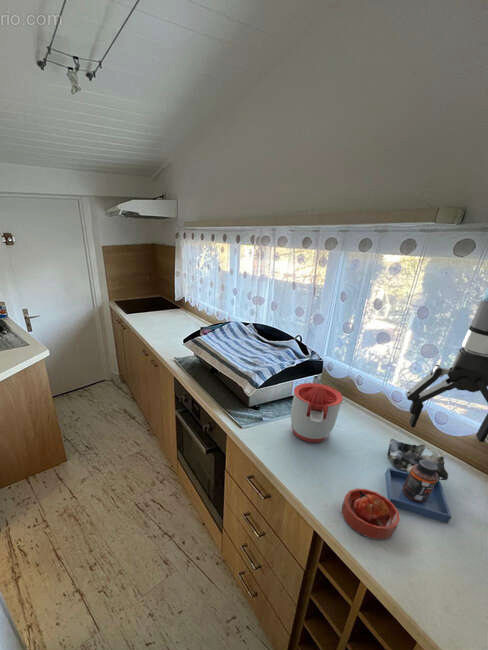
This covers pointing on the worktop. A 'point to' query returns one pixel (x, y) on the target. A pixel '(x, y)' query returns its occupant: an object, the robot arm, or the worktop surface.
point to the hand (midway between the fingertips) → (444, 431)
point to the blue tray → (430, 508)
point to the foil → (413, 457)
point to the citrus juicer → (314, 411)
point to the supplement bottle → (421, 481)
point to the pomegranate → (370, 507)
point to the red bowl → (371, 527)
